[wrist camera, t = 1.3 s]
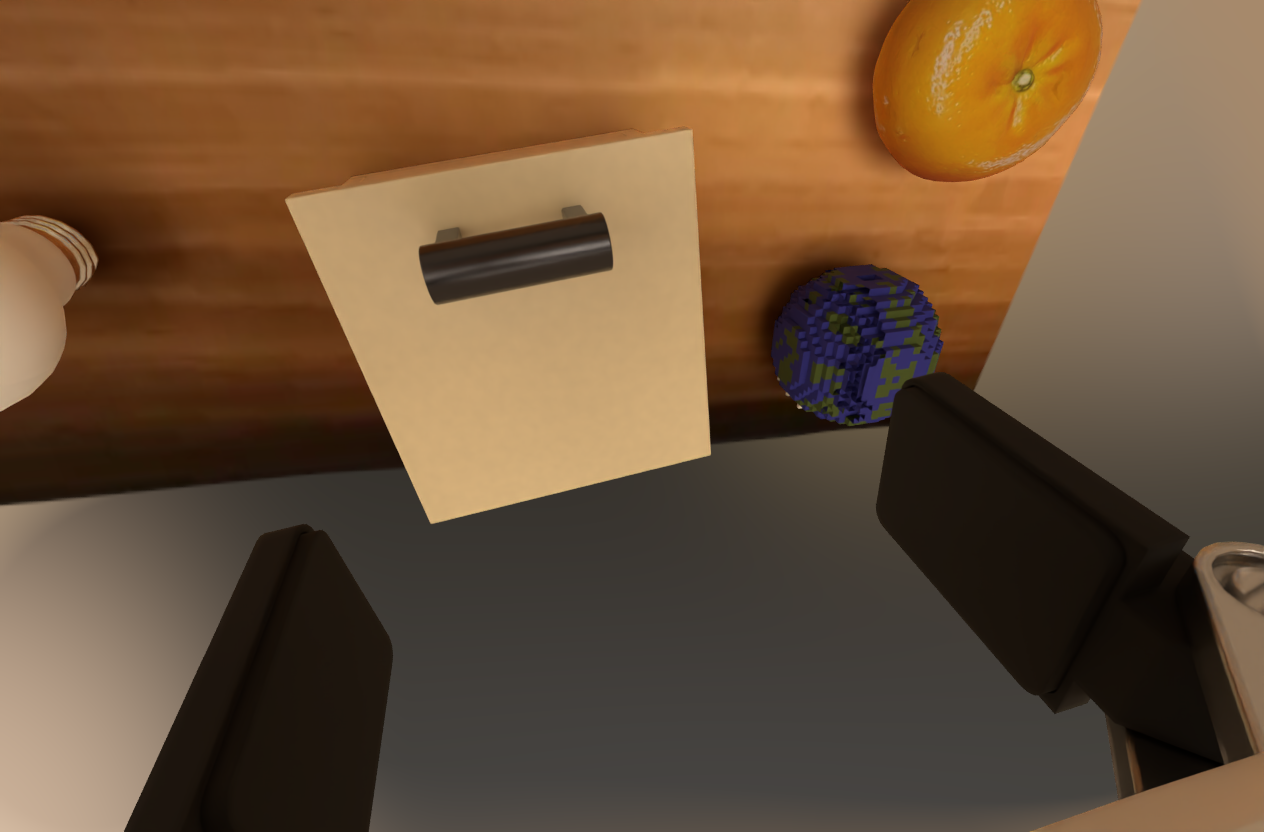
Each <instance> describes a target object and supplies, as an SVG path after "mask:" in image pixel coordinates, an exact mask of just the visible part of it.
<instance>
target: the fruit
mask: <svg viewBox="0 0 1264 832" xmlns="http://www.w3.org/2000/svg"><path fill="white" fill-rule="evenodd" d="M1102 34H1103V33H1102V19H1101V13H1100V10H1099V7H1098V4H1097V1H1096V0H910V1H909V3H908V4H907V5H906V6H905V8H904V9H903V10H902V12H901V13H900V14H899V16H898V17H897V19H896V20H895V22H894V24H893V25H892V27H891V29H890V31H889V33H888V34H887V37H886V39H885V41H884V43H883V46H882V49H881V52H880V54H879V57H878V60H877V63H876V66H875V71H874V77H873V100H874V114H875V121H876V127H877V131H878V133H879V135H880V137H881V139H882V141H883V143H884V144H885V146H886V148H887V149H888V151H889V152H890V153H891V155H892V156H893V157H894V158H895V160H896V161H897V162H898V163H899V164H900V165H901V166H902V167H903V168H905V169H906V170H908V171H909V172H911V173H912V174H914V175H916V176H919V177H921V178H923V179H928V180H932V181H942V182H961V181H972V180H977V179H981V178H985V177H988V176H991V175H994V174H997V173H1000V172H1002V171H1004V170H1007V169H1009V168H1011V167H1012V166H1014V165H1016V164H1018V163H1020V162H1022V161H1024V160H1025V159H1026V158H1027V157H1029V156H1030V155H1032V154H1033V153H1034V152H1036V151H1037V150H1038V149H1039V148H1041V147H1042V146H1043V145H1044V144H1045V143H1046V142H1047V141H1048V140H1049V139H1050V138H1051V137H1052V136H1053V135H1054V134H1055V132H1056V131H1057V130H1058V129H1059V128H1060V127H1061V126H1062V125H1063V124H1064V123H1065V121H1066V120H1067V119H1068V118H1069V117H1070V115H1071V114H1072V113H1073V112H1074V111H1075V109H1076V108H1077V107H1078V105H1079V104H1080V102H1081V101H1082V99H1083V98H1084V96H1085V94H1086V93H1087V91H1088V89H1089V87H1090V84H1091V82H1092V80H1093V78H1094V75H1095V72H1096V69H1097V66H1098V64H1099V61H1100V55H1101V45H1102Z"/></svg>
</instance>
